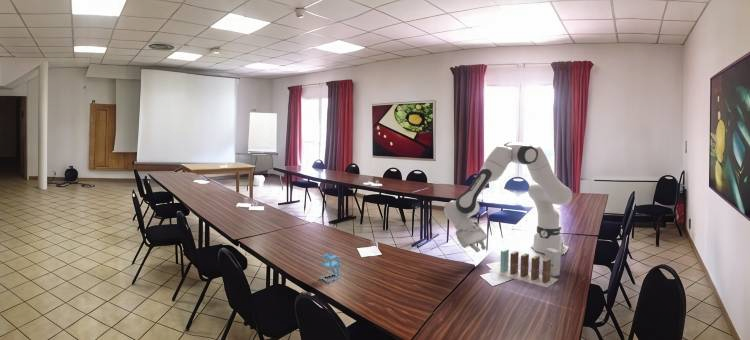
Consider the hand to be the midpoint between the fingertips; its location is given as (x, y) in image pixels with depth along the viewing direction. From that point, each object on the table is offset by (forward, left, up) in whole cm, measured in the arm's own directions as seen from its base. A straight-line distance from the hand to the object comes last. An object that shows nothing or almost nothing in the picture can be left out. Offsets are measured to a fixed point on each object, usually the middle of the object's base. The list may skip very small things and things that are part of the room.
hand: (481, 250), depth 189 cm
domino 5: (0, +32, -7) cm, 33 cm away
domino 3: (0, +22, -7) cm, 23 cm away
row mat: (0, +21, -8) cm, 23 cm away
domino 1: (0, +12, -7) cm, 14 cm away
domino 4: (0, +27, -7) cm, 28 cm away
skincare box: (-12, +30, -8) cm, 34 cm away
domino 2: (0, +17, -7) cm, 19 cm away
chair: (+65, -40, -8) cm, 77 cm away
